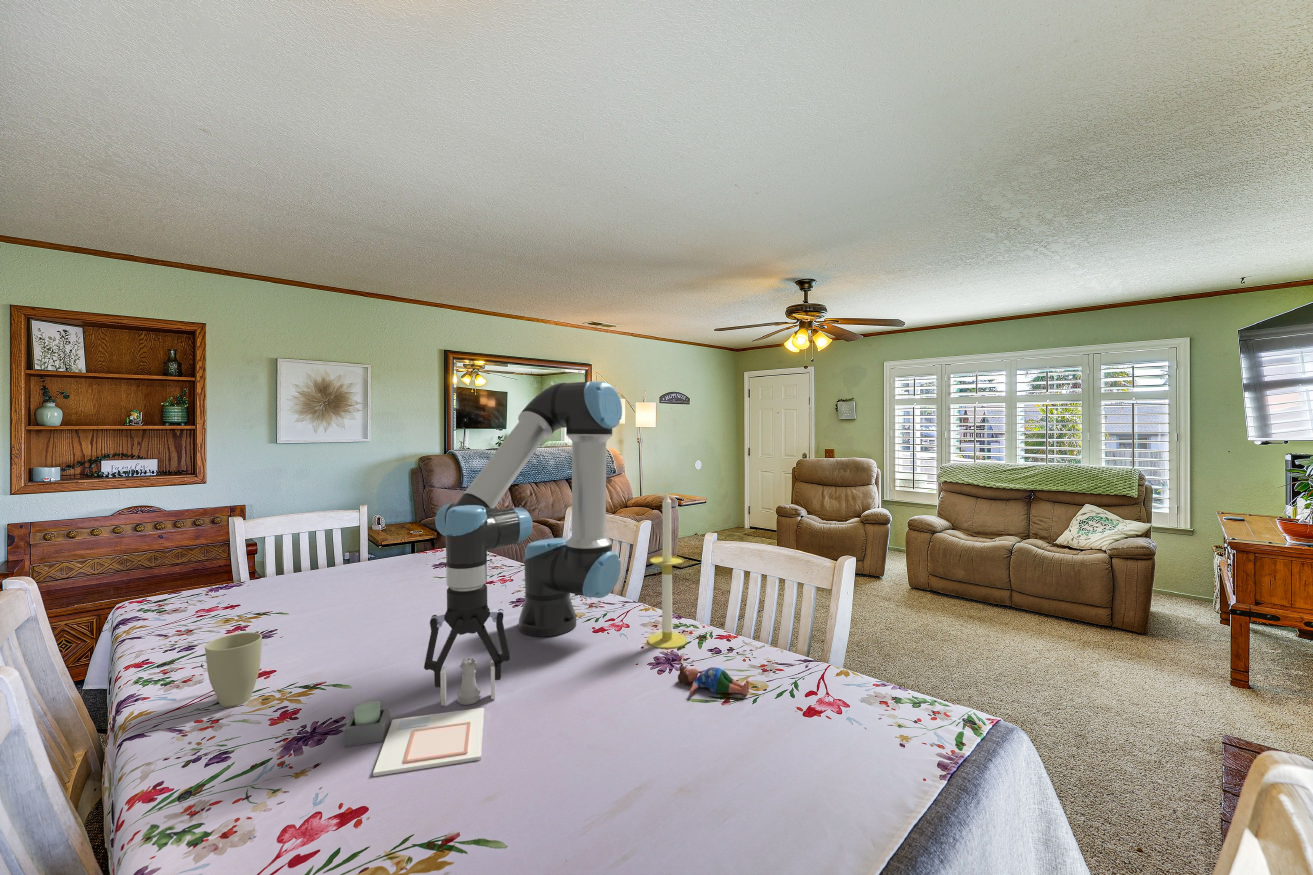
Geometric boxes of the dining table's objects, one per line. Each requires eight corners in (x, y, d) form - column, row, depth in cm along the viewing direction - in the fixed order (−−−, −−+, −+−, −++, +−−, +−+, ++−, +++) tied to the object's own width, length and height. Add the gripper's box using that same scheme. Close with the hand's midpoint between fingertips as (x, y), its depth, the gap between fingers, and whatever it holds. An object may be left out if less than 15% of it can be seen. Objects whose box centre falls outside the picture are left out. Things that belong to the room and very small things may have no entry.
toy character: (739, 687, 107) (666, 673, 113) (738, 712, 107) (666, 696, 113) (755, 662, 118) (688, 649, 125) (755, 684, 119) (688, 670, 125)
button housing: (389, 723, 103) (389, 706, 103) (382, 741, 97) (382, 724, 97) (353, 727, 101) (353, 711, 101) (344, 746, 96) (343, 729, 95)
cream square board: (484, 710, 107) (484, 705, 107) (480, 759, 92) (480, 754, 92) (392, 722, 103) (392, 717, 103) (373, 776, 88) (373, 770, 88)
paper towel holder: (695, 640, 141) (695, 490, 140) (668, 652, 134) (668, 495, 132) (665, 629, 148) (665, 487, 146) (638, 641, 140) (638, 491, 139)
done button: (382, 718, 102) (382, 699, 101) (377, 730, 98) (377, 710, 98) (357, 721, 101) (357, 702, 100) (352, 733, 97) (351, 713, 97)
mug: (278, 691, 115) (277, 633, 114) (227, 715, 106) (226, 652, 105) (241, 683, 118) (239, 627, 118) (188, 706, 109) (186, 645, 109)
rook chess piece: (460, 695, 113) (459, 655, 113) (483, 694, 114) (482, 654, 113) (454, 706, 109) (453, 665, 109) (478, 705, 109) (477, 664, 109)
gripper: (522, 576, 117) (523, 683, 118) (411, 584, 111) (413, 696, 112) (523, 586, 110) (524, 700, 110) (404, 595, 104) (407, 716, 105)
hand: (468, 698), depth 111 cm, fingers open, 9 cm apart
